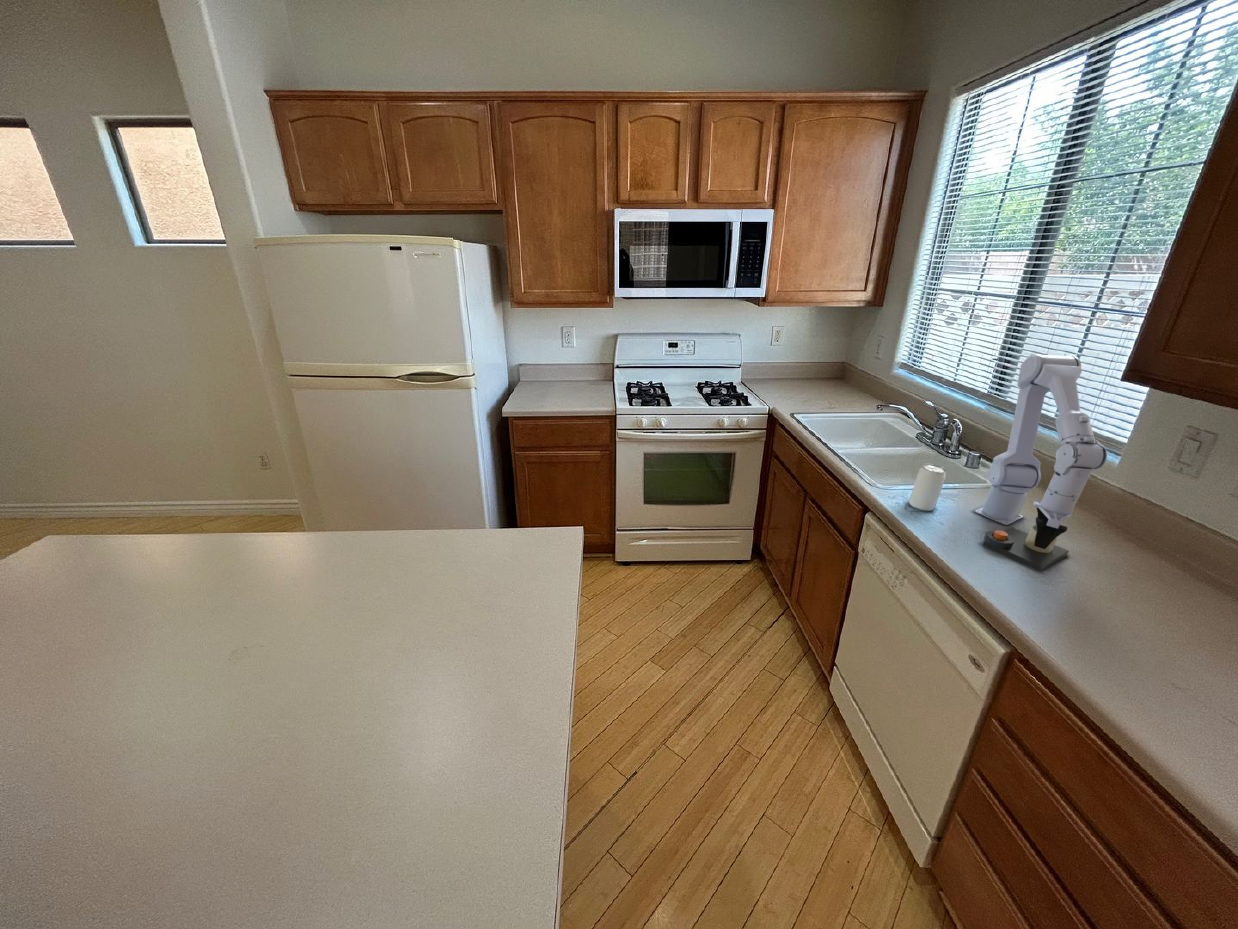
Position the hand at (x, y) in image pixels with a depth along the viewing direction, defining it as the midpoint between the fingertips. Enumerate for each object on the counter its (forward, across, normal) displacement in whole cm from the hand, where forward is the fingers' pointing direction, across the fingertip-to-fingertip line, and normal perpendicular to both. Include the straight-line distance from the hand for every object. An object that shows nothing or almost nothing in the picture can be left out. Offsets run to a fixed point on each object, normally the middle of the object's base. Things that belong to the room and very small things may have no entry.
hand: (1039, 541), depth 115 cm
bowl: (+2, 0, 0) cm, 2 cm away
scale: (+3, +1, -2) cm, 4 cm away
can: (+3, -7, -26) cm, 27 cm away
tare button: (0, +5, -8) cm, 9 cm away
